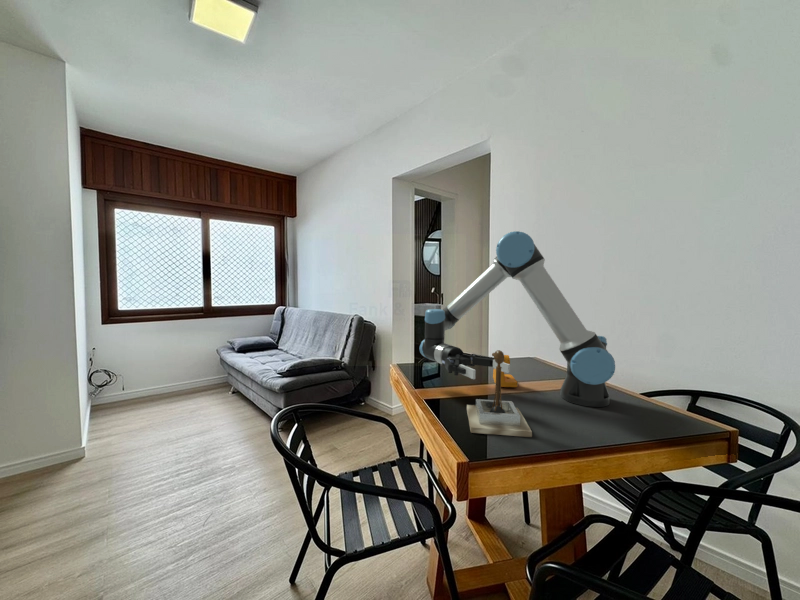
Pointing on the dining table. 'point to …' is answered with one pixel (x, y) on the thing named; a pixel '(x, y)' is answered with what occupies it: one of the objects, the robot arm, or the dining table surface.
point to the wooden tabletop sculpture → (498, 383)
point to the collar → (497, 418)
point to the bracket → (506, 376)
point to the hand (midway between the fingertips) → (492, 371)
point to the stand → (497, 429)
